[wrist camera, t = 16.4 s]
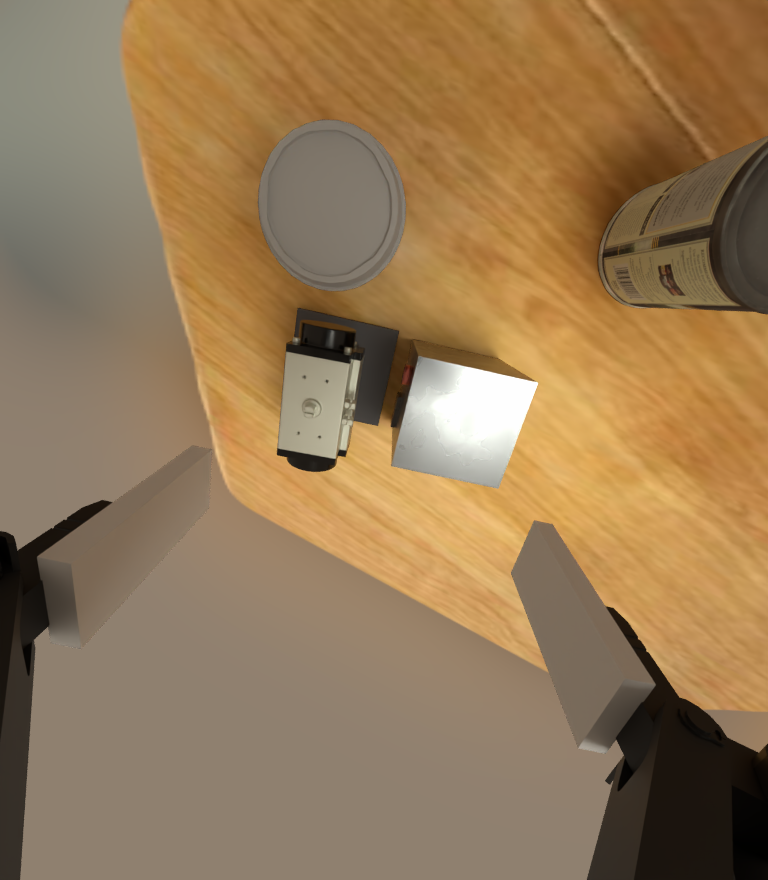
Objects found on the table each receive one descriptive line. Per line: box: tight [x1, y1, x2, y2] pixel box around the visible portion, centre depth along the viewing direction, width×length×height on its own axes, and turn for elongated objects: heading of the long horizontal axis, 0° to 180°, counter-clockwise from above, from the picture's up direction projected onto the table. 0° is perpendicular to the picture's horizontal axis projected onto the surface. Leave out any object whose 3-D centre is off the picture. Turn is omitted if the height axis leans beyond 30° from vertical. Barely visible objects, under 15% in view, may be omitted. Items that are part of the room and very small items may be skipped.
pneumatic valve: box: [277, 320, 365, 472], centre depth 33 cm, size 6×12×12 cm, turn 169°
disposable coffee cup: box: [258, 120, 406, 291], centre depth 28 cm, size 10×10×12 cm
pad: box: [294, 308, 399, 426], centre depth 38 cm, size 10×10×1 cm
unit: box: [391, 339, 538, 488], centre depth 34 cm, size 9×10×11 cm
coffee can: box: [598, 136, 768, 314], centre depth 27 cm, size 10×10×14 cm
